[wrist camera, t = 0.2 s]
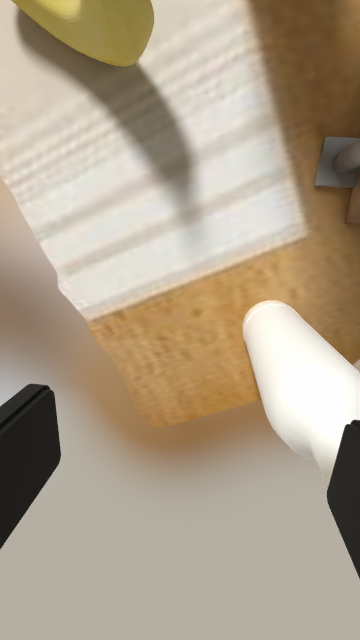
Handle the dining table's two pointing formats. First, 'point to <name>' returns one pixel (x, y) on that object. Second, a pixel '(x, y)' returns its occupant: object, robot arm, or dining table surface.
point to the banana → (96, 26)
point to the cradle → (341, 170)
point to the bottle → (301, 382)
